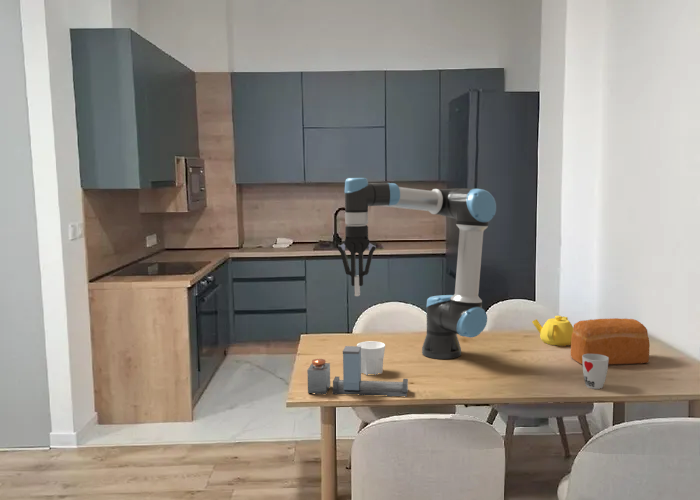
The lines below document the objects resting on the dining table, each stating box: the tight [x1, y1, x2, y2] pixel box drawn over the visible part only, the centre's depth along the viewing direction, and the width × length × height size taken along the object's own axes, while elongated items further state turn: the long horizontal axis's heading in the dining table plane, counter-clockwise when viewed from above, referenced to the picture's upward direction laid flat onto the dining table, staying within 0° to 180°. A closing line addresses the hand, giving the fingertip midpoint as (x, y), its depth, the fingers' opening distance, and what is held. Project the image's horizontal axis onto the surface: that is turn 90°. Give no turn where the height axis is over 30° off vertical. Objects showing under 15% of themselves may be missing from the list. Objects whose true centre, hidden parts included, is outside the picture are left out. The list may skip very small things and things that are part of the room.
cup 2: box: [582, 354, 609, 390], centre depth 213 cm, size 8×8×10 cm
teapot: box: [531, 315, 574, 347], centre depth 268 cm, size 20×18×11 cm
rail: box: [331, 376, 409, 398], centre depth 211 cm, size 24×7×4 cm, turn 82°
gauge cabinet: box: [307, 362, 331, 395], centre depth 213 cm, size 6×8×8 cm
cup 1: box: [356, 340, 386, 376], centre depth 231 cm, size 10×10×10 cm
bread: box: [570, 317, 650, 366], centre depth 241 cm, size 14×26×16 cm, turn 95°
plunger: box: [311, 358, 327, 368], centre depth 212 cm, size 4×4×9 cm
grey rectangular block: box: [342, 345, 362, 390], centre depth 211 cm, size 5×6×13 cm
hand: (357, 295), depth 216 cm, fingers closed
